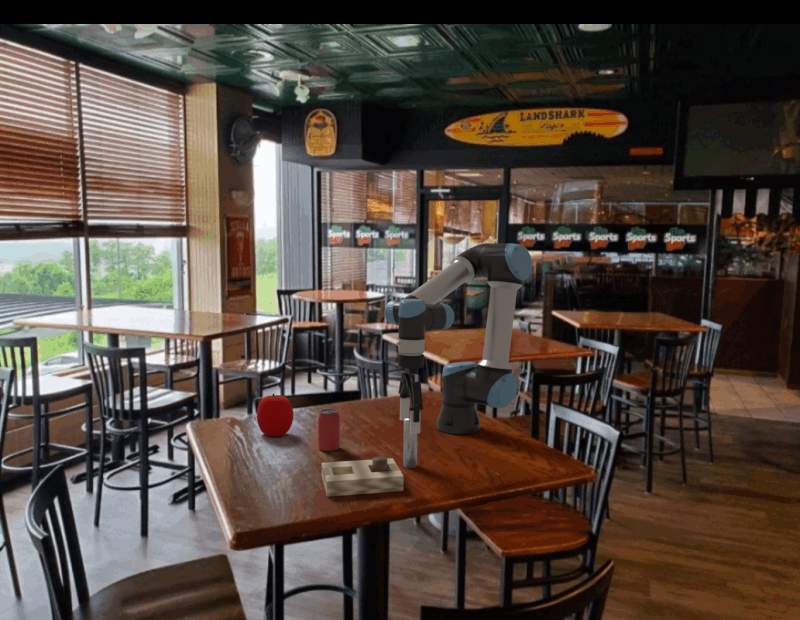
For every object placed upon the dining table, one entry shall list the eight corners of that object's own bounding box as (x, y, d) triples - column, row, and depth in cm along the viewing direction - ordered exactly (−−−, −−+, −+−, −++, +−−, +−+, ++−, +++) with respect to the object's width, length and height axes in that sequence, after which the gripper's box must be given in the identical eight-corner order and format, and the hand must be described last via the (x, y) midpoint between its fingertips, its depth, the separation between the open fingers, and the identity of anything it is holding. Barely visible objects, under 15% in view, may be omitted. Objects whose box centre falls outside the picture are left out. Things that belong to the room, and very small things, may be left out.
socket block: (392, 471, 183) (392, 449, 182) (403, 490, 169) (403, 466, 169) (321, 476, 179) (321, 454, 178) (326, 496, 165) (326, 472, 164)
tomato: (249, 437, 213) (248, 395, 212) (268, 428, 224) (267, 387, 222) (281, 442, 209) (281, 399, 207) (300, 432, 219) (299, 391, 217)
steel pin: (415, 462, 190) (415, 416, 189) (418, 467, 186) (418, 420, 185) (401, 463, 190) (402, 417, 188) (404, 468, 186) (405, 421, 184)
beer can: (336, 452, 199) (336, 414, 197) (315, 451, 200) (315, 413, 199) (342, 446, 205) (342, 409, 204) (322, 444, 206) (322, 407, 205)
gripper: (389, 346, 196) (388, 415, 198) (408, 361, 171) (406, 439, 173) (413, 346, 197) (412, 414, 199) (435, 360, 173) (433, 438, 175)
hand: (409, 426), depth 186 cm, fingers open, 13 cm apart
